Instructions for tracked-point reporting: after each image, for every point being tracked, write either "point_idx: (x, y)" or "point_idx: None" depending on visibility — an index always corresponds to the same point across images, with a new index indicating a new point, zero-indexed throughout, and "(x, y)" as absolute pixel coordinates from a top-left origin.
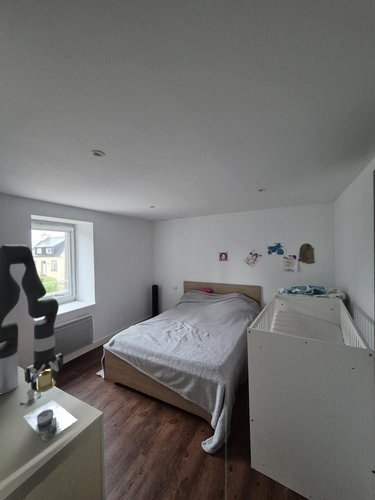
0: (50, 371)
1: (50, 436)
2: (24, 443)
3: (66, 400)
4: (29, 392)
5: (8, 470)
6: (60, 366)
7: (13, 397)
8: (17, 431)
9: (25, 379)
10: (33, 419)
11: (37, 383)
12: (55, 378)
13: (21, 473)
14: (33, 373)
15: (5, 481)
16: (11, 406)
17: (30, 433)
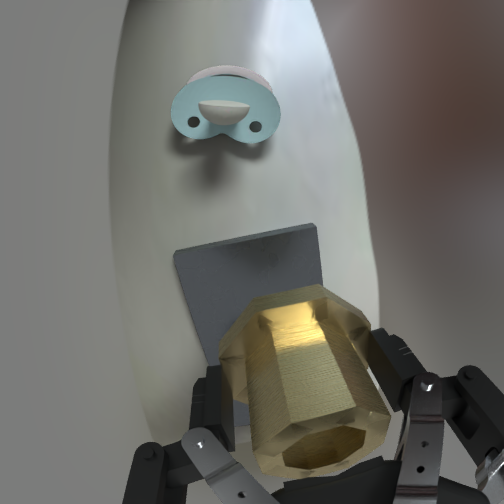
0: (366, 447)
1: (249, 418)
2: (181, 378)
3: (360, 261)
4: (211, 122)
5: (153, 419)
6: (450, 418)
7: (160, 10)
8: (157, 308)
9: (138, 470)
10: (212, 312)
11: (250, 321)
12: (374, 372)
13: (180, 439)
14: (210, 485)
15: (152, 434)
16: (139, 84)
17: (199, 352)
